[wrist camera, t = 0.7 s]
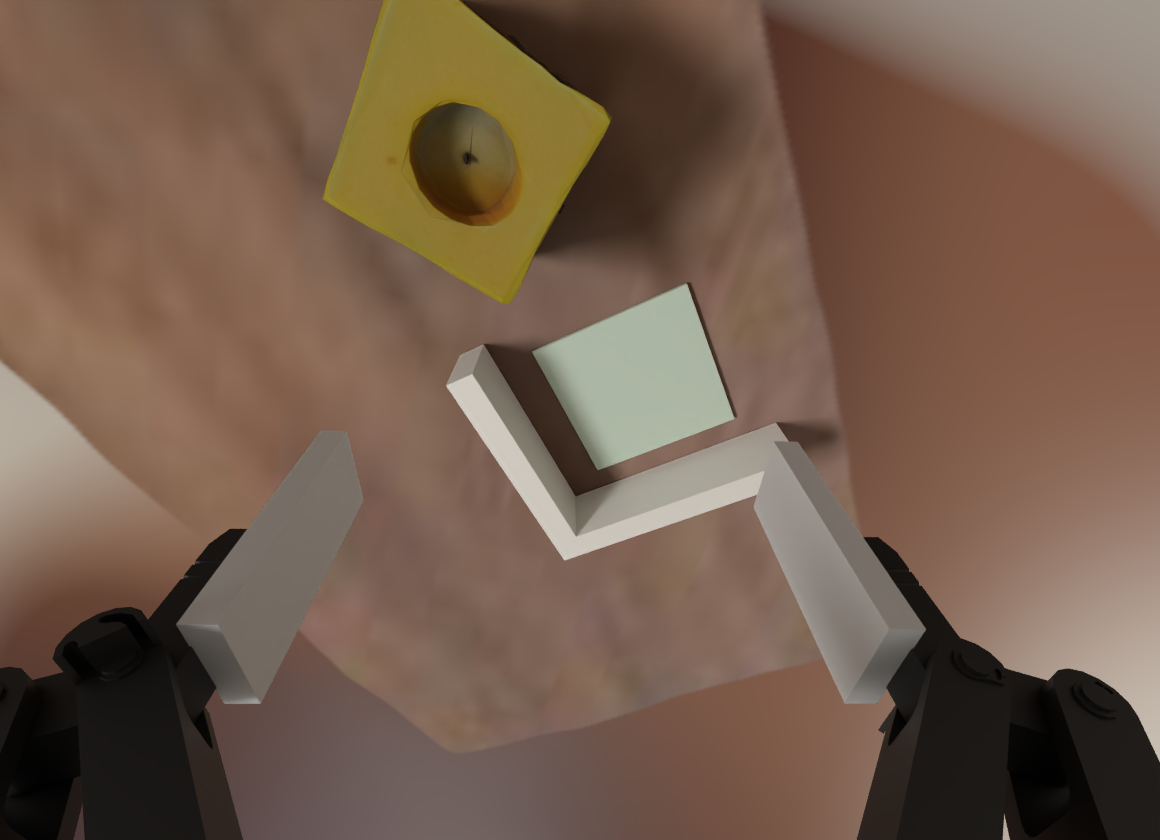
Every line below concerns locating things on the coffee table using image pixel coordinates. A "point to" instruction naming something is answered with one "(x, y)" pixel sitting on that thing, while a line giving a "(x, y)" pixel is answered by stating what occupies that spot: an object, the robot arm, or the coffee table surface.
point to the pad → (637, 378)
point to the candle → (461, 143)
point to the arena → (616, 505)
